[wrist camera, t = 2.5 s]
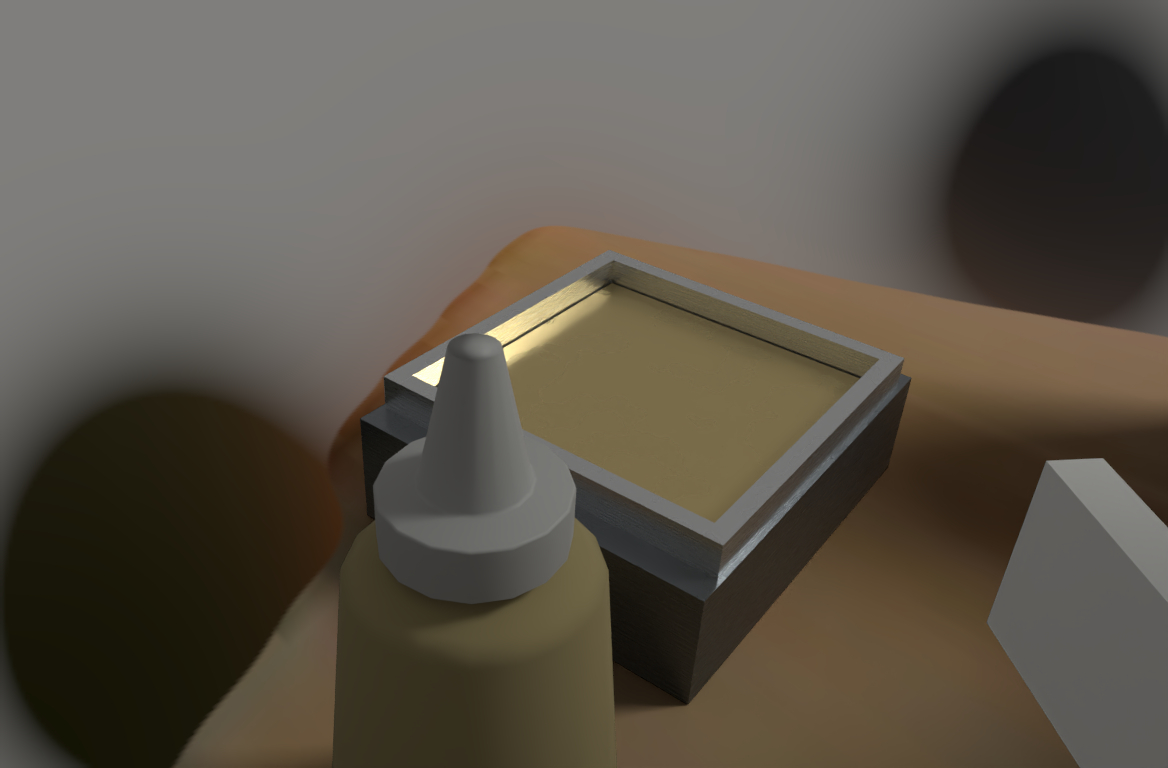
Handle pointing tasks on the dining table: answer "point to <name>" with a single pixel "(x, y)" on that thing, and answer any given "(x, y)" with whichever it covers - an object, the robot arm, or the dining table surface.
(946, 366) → the dining table surface
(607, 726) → the squeeze bottle
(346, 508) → the dining table surface
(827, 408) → the square box
